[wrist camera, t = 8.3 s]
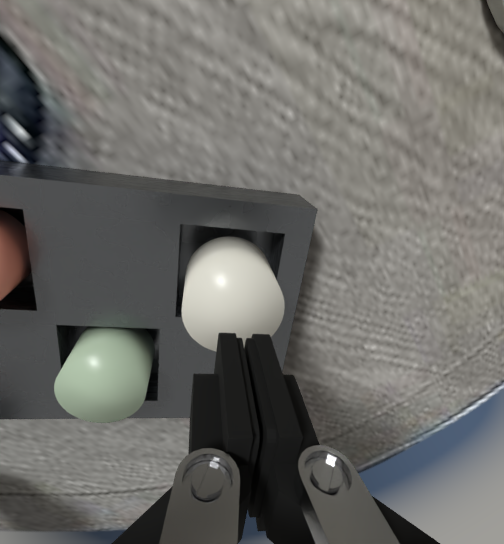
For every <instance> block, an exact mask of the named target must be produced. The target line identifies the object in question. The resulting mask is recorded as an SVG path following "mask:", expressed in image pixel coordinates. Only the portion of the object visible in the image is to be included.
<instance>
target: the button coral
mask: <svg viewBox="0 0 504 544" xmlns="http://www.w3.org/2000/svg"><path fill="white" fill-rule="evenodd" d="M31 272H32V270H31V263H30V256H29V249H28V242H27V234H26V228H25V227H24V226H23V225H22V224H21V223H20V222H19V221H18V220H17V219H16V218H14V217H13V216H12V215H10V214H8V213H7V212H5V211H3V210H1V209H0V301H1V300H2V299H3V298H4V297H5V296H6V295H7V294H8V293H10V292H11V291H12V290H13V289H14V288H15V287H16V286H17V285H19V284H20V283H21V282H22V281H23V280H24V279H25V278H26V277H27V276H28V275H29V274H30V273H31Z"/></svg>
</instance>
